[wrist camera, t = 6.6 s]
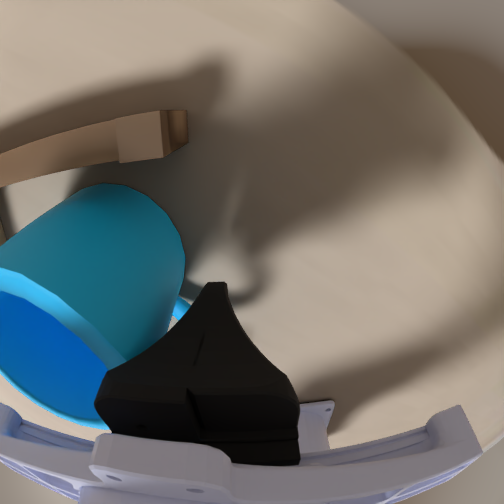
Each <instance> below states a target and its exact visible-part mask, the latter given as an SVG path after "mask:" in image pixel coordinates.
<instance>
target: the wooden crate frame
mask: <svg viewBox="0 0 504 504" xmlns="http://www.w3.org/2000/svg"><path fill="white" fill-rule="evenodd" d="M187 143H189V140H188V127H187V111H186V110H159V111H152V112H146V113H140V114H135V115H129V116H124V117H119V118H115V119H114V120H109V121H105V122H100V123H96V124H92V125H88V126H84V127H80V128H76V129H73V130H69V131H66V132H62V133H59V134H55V135H52V136H49V137H46V138H43V139H40V140H37V141H34V142H31V143H28V144H25V145H22V146H20V147H17V148H14V149H12V150H9V151H6V152H4V153H1V154H0V187H3V186H6V185H10V184H13V183H17V182H20V181H24V180H28V179H32V178H35V177H39V176H43V175H48V174H52V173H56V172H60V171H65V170H70V169H74V168H79V167H84V166H89V165H95V164H100V163H106V162H112V161H118V160H120V163H126V162H133V161H140V160H148V159H156V158H164V157H165V156H167V155H168V154H170V153H172V152H173V151H175V150H177V149H178V148H180V147H182V146H183V145H185V144H187ZM6 241H7V240H6V237H5V233H4V230H3V227H2V223H1V219H0V246H1V245H3V244H4V243H5V242H6Z"/></svg>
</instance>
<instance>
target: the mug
mask: <svg viewBox="0 0 504 504" xmlns="http://www.w3.org/2000/svg"><path fill="white" fill-rule="evenodd" d="M184 269H185V254H184V250H183V246H182V242H181V238H180V234H179V233H178V231H177V230H176V228H175V226H174V225H173V223H172V221H171V220H170V218H169V216H168V215H167V213H166V212H165V211H163V210H162V209H161V208H160V207H159V206H158V205H157V204H156V203H155V202H154V201H152V200H151V199H150V198H149V197H148V196H146V195H144V194H142V193H140V192H138V191H136V190H134V189H132V188H129V187H127V186H125V185H116V184H107V183H101V184H98V185H94V186H90V187H87V188H83V189H81V190H80V191H78V192H77V193H75V194H73V195H72V196H70V197H69V198H67V199H65V200H64V201H62V202H61V203H59V204H58V205H56V206H55V207H53V208H52V209H50V210H49V211H47V212H46V213H44V214H43V215H41V216H40V217H39V218H37V219H36V220H34V221H33V222H32V223H30V224H29V225H27V226H26V227H25V228H23V229H22V230H21V231H19V232H18V233H17V234H15V235H14V236H13V237H11V238H10V239H9V240H8V241H6V242H5V243H4V244H3V245H1V246H0V374H1V375H2V376H3V377H4V378H5V379H6V380H7V381H8V382H9V383H10V384H11V385H12V386H13V387H14V388H16V389H17V390H18V391H19V392H21V393H22V394H23V395H24V396H26V397H27V398H28V399H30V400H31V401H32V402H34V403H35V404H37V405H38V406H40V407H42V408H44V409H45V410H47V411H49V412H51V413H53V414H55V415H56V416H58V417H61V418H63V419H66V420H68V421H71V422H74V423H76V424H79V425H82V426H87V427H92V428H98V429H104V430H107V429H109V427H108V426H107V425H106V424H105V422H104V421H103V420H102V419H101V417H100V416H99V415H98V413H97V411H96V410H95V408H94V401H95V398H96V395H97V392H98V390H99V387H100V384H101V382H102V380H103V378H104V376H105V374H106V372H107V371H108V370H111V369H113V368H115V367H117V366H119V365H121V364H123V363H125V362H127V361H129V360H130V359H132V358H134V357H135V356H137V355H139V354H140V353H142V352H143V351H145V350H146V349H148V348H149V347H150V346H152V345H153V344H154V343H155V342H157V341H158V340H159V339H161V338H162V337H163V336H164V335H165V334H166V333H167V330H168V327H169V324H170V320H171V317H172V315H173V316H174V317H176V318H177V319H178V320H180V319H181V317H182V316H183V315H184V314H185V313H186V312H187V310H188V309H189V308H190V306H191V305H190V304H189V303H188V302H186V301H185V300H184V299H182V298H181V297H179V296H178V295H179V291H180V288H181V285H182V282H183V279H184Z"/></svg>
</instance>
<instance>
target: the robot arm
mask: <svg viewBox="0 0 504 504" xmlns="http://www.w3.org/2000/svg"><path fill="white" fill-rule="evenodd" d="M334 407H335V403H334V401H331V400H329V401H322V402H314V403H305V404H299V401H298V398H297V395H296V393H295V391H294V388H293V386H292V384H291V383H290V381H289V379H288V377H287V375H285V374H284V373H283V372H282V371H280V370H279V369H278V368H277V367H276V366H274V365H273V364H272V363H271V362H270V361H269V360H268V359H267V358H266V357H265V356H264V355H263V354H262V353H261V352H260V351H259V349H258V348H257V347H256V346H255V345H254V344H253V342H252V341H251V340H250V338H249V337H248V336H247V334H246V333H245V331H244V330H243V328H242V326H241V325H240V323H239V321H238V319H237V317H236V315H235V313H234V311H233V308H232V306H231V303H230V301H229V297H228V289H227V284H226V283H225V282H208V283H207V284H206V285H205V286H204V288H203V289H202V291H201V292H200V294H199V295H198V297H197V298H196V300H195V301H194V302H193V304H192V305H191V306H190V308H189V309H188V310H187V312H186V313H185V314H184V315H183V316H182V317H181V319H180V320H179V321H178V322H177V323H176V324H175V325H174V326H173V327H172V328H171V329H170V330H169V331H168V332H167V333H166V334H165V335H164V336H163V337H162V338H161V339H159V340H158V341H157V342H155V343H154V344H153V345H152V346H150V347H149V348H148V349H146V350H145V351H143V352H142V353H140V354H139V355H137V356H135V357H134V358H132V359H130V360H129V361H127V362H125V363H123V364H121V365H119V366H117V367H115V368H113V369H111V370H108V371H107V372H106V374H105V376H104V378H103V380H102V382H101V384H100V387H99V390H98V392H97V395H96V398H95V401H94V408H95V410H96V411H97V413H98V415H99V416H100V417H101V419H102V420H103V421H104V422H105V424H106V425H107V426H108V427H109V429H110V430H111V431H112V433H111V434H110V433H104V434H101V435H99V436H98V437H96V440H95V442H93V441H89V440H85V439H81V438H77V437H74V436H70V435H67V434H64V433H60V432H57V431H54V430H51V429H48V428H45V427H42V426H39V425H37V424H34V423H31V422H29V421H26V420H23V419H22V418H21V416H20V415H19V414H18V413H17V412H16V411H15V410H14V409H12V408H11V407H9V406H7V405H5V404H2V403H0V461H1V462H2V463H3V464H5V465H6V466H8V467H9V468H10V469H12V470H13V471H15V472H17V473H19V474H21V475H23V476H25V477H27V478H28V479H30V480H32V481H34V482H36V483H38V484H40V485H42V486H44V487H46V488H48V489H50V490H53V491H55V492H57V493H59V494H61V495H64V496H66V497H68V498H71V499H73V500H76V501H78V504H393V503H396V502H399V501H401V500H404V499H406V498H409V497H411V496H414V495H416V494H419V493H421V492H423V491H426V490H428V489H430V488H432V487H435V486H437V485H439V484H441V483H443V482H446V481H448V480H449V479H451V478H453V477H454V476H455V475H457V474H458V473H459V472H461V471H462V470H463V469H465V468H466V467H467V466H469V465H470V464H471V463H472V462H474V461H475V460H476V459H477V458H478V457H480V456H481V455H482V453H483V451H482V449H481V446H480V444H479V442H478V440H477V438H476V435H475V433H474V431H473V429H472V427H471V425H470V423H469V421H468V419H467V417H466V415H465V413H464V411H463V409H462V407H461V405H456V406H454V407H451V408H449V409H446V410H443V411H441V412H439V413H436V414H435V415H433V416H432V417H431V418H430V419H429V420H428V422H427V423H426V425H425V426H422V427H420V428H416V429H413V430H410V431H407V432H404V433H400V434H397V435H393V436H390V437H386V438H382V439H378V440H374V441H370V442H366V443H361V444H357V445H352V446H347V447H342V448H336V449H330V446H329V441H328V436H327V432H326V429H327V426H328V424H329V421H330V418H331V415H332V413H333V410H334Z"/></svg>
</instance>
